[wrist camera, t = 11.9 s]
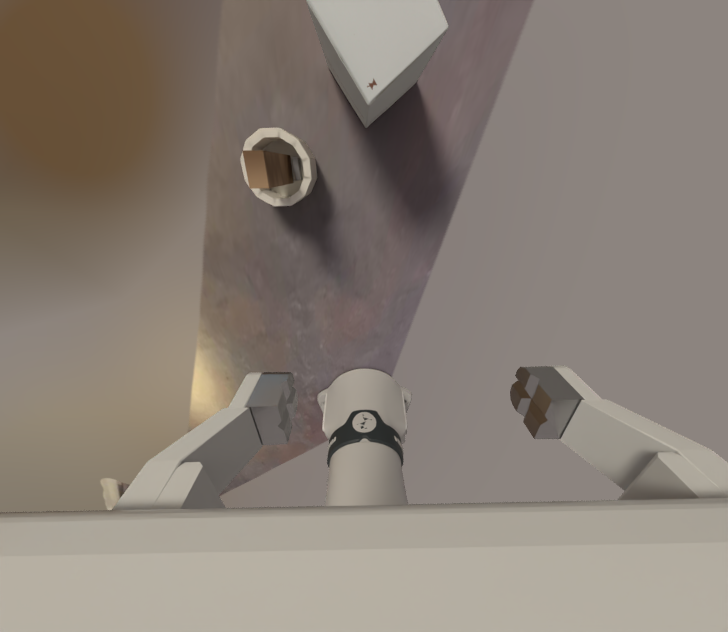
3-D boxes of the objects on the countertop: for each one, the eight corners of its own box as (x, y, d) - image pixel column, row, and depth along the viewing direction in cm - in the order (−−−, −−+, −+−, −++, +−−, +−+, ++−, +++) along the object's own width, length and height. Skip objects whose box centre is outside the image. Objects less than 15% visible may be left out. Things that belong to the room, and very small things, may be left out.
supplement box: (418, 82, 29) (453, 30, 18) (365, 130, 31) (366, 109, 20) (381, 4, 26) (395, -114, 15) (324, 63, 28) (301, -4, 17)
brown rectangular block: (293, 183, 33) (269, 188, 24) (279, 183, 33) (249, 188, 24) (290, 155, 32) (262, 150, 23) (275, 155, 32) (242, 150, 23)
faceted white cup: (319, 201, 35) (314, 205, 31) (263, 202, 35) (250, 206, 31) (312, 132, 31) (305, 126, 27) (249, 133, 31) (233, 129, 28)
